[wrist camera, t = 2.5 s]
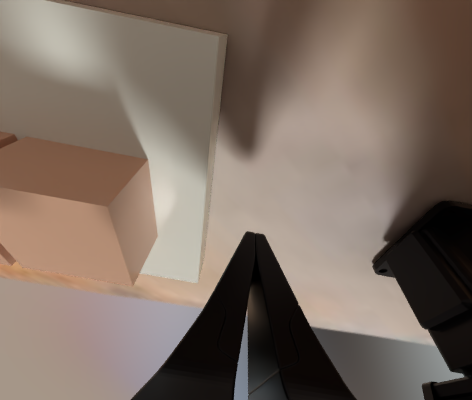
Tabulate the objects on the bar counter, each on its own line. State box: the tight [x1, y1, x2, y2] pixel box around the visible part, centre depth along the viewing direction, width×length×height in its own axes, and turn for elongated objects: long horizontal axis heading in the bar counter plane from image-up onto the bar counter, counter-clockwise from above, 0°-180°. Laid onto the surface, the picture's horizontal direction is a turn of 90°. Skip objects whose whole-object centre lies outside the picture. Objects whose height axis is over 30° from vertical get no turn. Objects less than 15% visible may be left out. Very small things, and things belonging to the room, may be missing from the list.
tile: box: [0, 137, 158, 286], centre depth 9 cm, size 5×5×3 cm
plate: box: [0, 0, 228, 283], centre depth 11 cm, size 14×14×2 cm
